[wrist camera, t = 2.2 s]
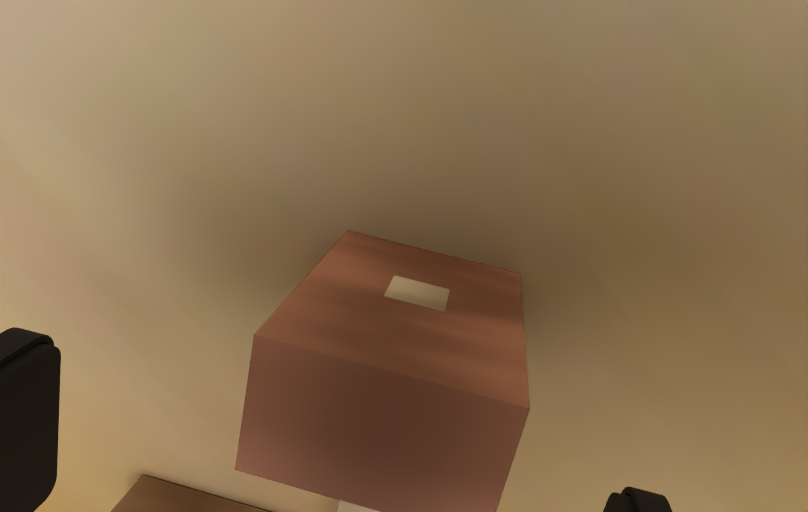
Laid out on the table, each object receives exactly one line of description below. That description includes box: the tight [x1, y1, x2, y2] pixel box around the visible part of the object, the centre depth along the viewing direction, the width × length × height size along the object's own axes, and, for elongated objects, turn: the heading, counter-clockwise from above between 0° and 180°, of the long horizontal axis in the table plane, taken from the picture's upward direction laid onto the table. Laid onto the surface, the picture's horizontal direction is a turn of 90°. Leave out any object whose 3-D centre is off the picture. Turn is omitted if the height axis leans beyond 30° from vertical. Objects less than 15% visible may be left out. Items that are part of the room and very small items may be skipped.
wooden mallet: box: [235, 231, 530, 512], centre depth 16 cm, size 5×10×7 cm, turn 169°
